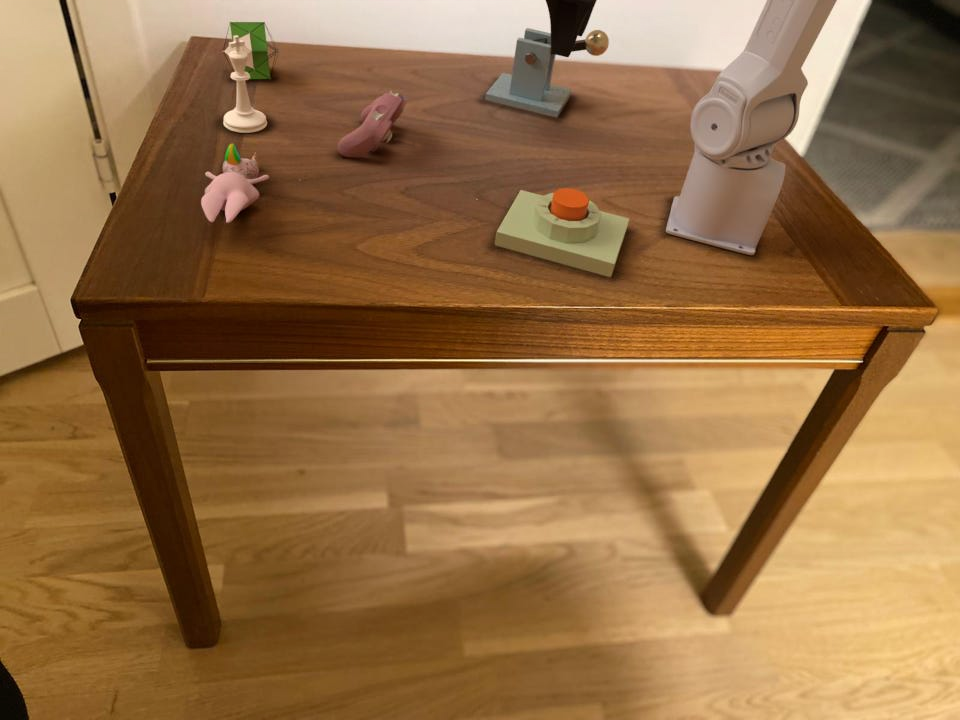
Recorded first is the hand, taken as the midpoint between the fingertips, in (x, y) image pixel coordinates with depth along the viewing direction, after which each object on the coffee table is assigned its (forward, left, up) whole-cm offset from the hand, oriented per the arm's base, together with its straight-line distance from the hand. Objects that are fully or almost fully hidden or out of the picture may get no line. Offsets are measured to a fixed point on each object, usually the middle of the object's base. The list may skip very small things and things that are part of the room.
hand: (567, 44), depth 89 cm
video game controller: (+18, +16, -10) cm, 26 cm away
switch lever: (+1, -6, -4) cm, 7 cm away
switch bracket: (+5, -6, -10) cm, 13 cm away
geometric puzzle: (+39, +7, -10) cm, 41 cm away
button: (-7, +25, -7) cm, 27 cm away
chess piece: (+33, +19, -10) cm, 39 cm away
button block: (-7, +25, -10) cm, 28 cm away
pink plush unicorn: (+25, +35, -10) cm, 44 cm away
